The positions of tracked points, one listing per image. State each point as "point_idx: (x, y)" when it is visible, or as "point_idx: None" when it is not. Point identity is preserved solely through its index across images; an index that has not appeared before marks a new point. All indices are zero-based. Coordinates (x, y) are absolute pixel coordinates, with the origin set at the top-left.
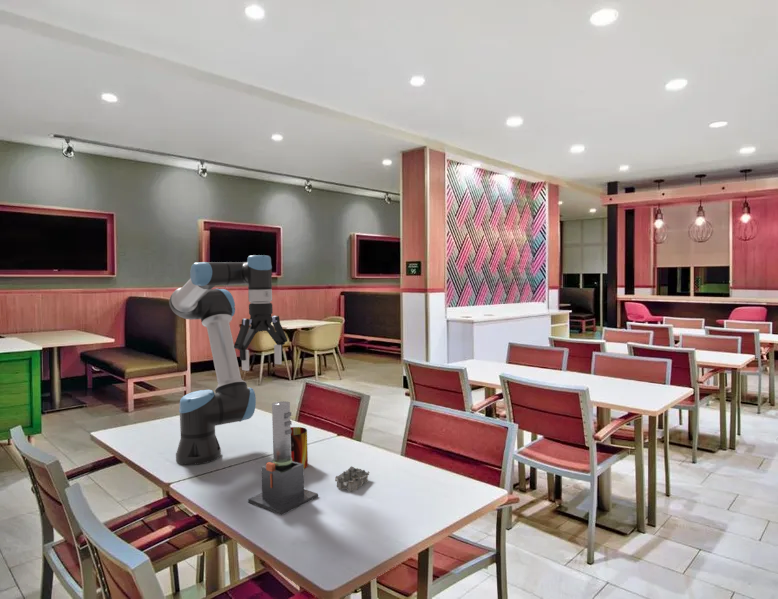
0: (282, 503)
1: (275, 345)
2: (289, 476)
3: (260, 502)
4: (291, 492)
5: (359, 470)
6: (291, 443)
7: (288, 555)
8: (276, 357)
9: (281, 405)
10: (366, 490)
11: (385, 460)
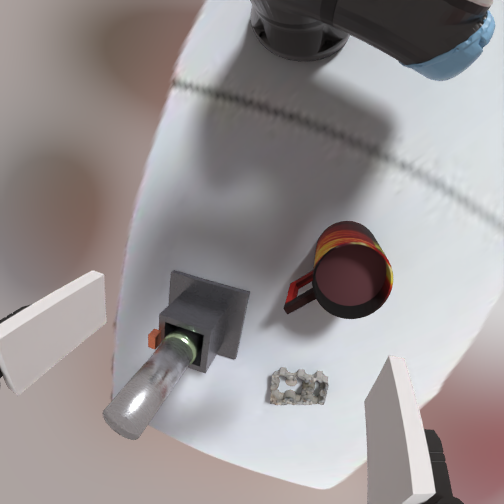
0: None
1: (399, 499)
2: None
3: (171, 296)
4: None
5: (323, 393)
6: (304, 299)
7: (121, 369)
8: (384, 410)
9: (112, 428)
10: None
11: None
